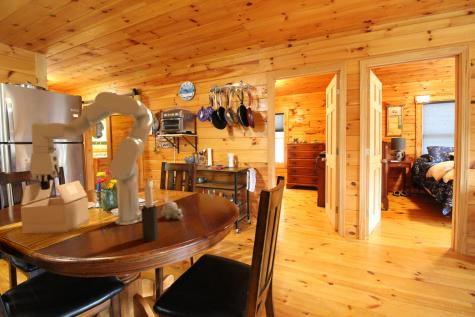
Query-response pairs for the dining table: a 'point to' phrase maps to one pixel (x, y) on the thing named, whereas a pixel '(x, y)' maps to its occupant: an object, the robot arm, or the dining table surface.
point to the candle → (149, 215)
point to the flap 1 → (35, 193)
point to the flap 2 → (71, 191)
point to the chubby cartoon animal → (171, 210)
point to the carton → (54, 215)
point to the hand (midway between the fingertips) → (45, 189)
